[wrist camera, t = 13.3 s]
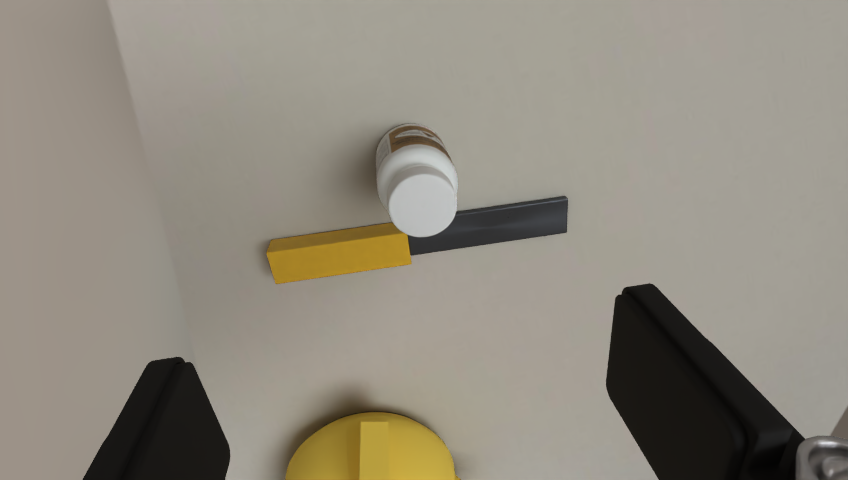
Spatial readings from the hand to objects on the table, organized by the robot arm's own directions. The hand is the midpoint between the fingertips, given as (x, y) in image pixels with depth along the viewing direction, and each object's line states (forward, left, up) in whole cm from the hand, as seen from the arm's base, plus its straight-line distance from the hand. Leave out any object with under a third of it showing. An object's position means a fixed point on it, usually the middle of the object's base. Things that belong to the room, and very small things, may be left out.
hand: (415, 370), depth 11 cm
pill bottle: (+1, -2, -21) cm, 21 cm away
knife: (+1, -8, -21) cm, 23 cm away
